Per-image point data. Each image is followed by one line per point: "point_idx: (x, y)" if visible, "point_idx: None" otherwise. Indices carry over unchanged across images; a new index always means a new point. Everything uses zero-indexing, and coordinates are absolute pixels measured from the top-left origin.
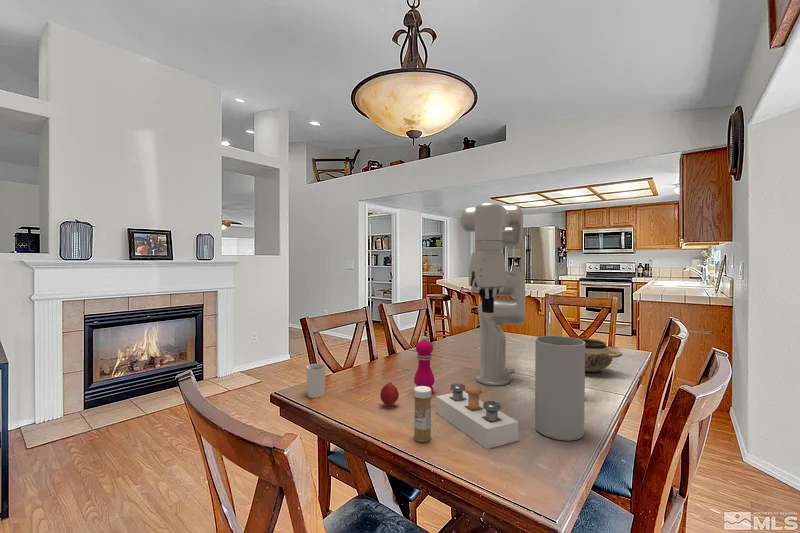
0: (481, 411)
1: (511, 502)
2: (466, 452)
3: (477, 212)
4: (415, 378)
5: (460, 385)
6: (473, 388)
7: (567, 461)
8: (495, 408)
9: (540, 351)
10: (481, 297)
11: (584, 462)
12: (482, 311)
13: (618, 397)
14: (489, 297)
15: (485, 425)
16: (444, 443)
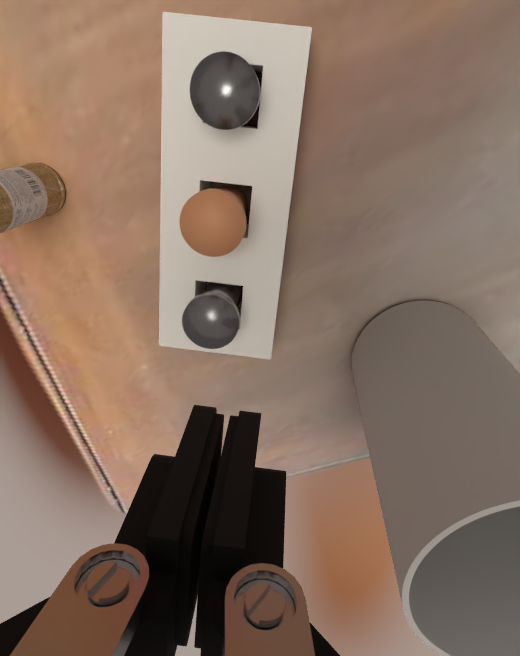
0: None
1: (94, 462)
2: (116, 308)
3: None
4: None
5: (239, 93)
6: (209, 226)
7: (291, 443)
8: (202, 345)
9: (399, 525)
10: (85, 581)
11: (317, 462)
12: (196, 407)
13: None
14: (203, 640)
15: (169, 327)
16: (88, 244)
